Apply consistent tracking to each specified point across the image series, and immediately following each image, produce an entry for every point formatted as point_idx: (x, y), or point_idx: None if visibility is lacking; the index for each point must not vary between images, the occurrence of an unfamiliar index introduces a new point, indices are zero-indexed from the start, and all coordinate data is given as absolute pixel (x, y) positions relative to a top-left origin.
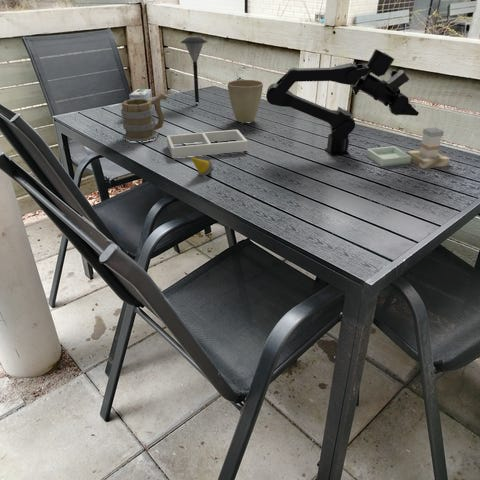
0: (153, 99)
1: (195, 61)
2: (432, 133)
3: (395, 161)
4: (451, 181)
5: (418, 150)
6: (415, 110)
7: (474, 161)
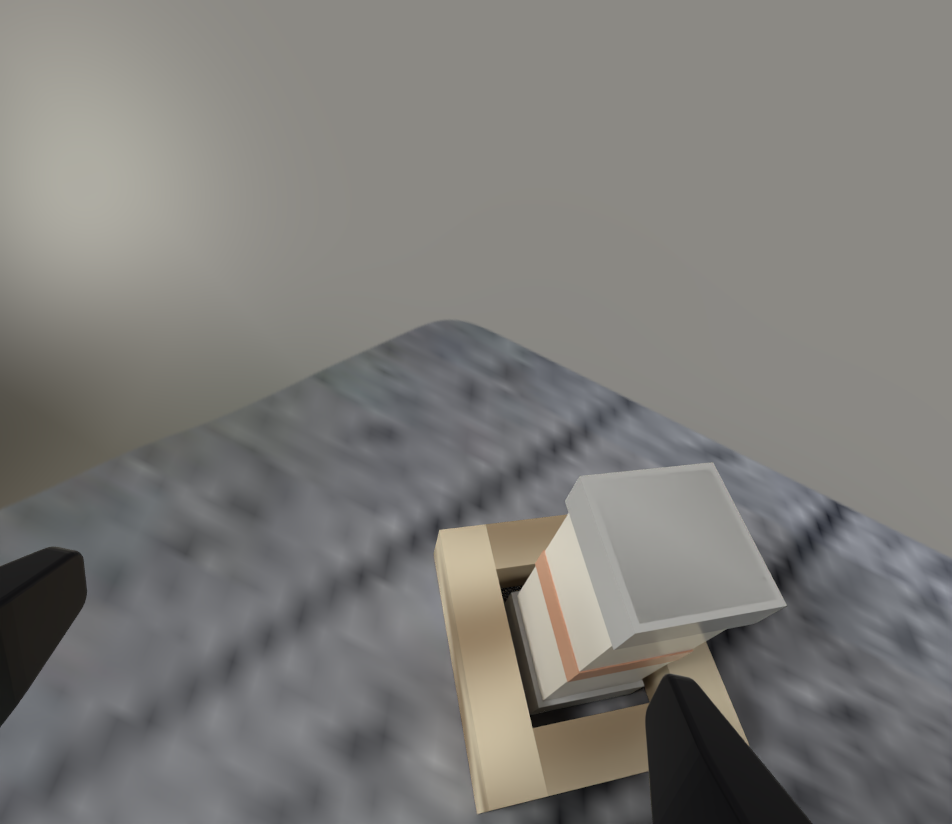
0: None
1: None
2: (773, 600)
3: None
4: (899, 645)
5: (472, 666)
6: (772, 788)
7: (550, 364)
